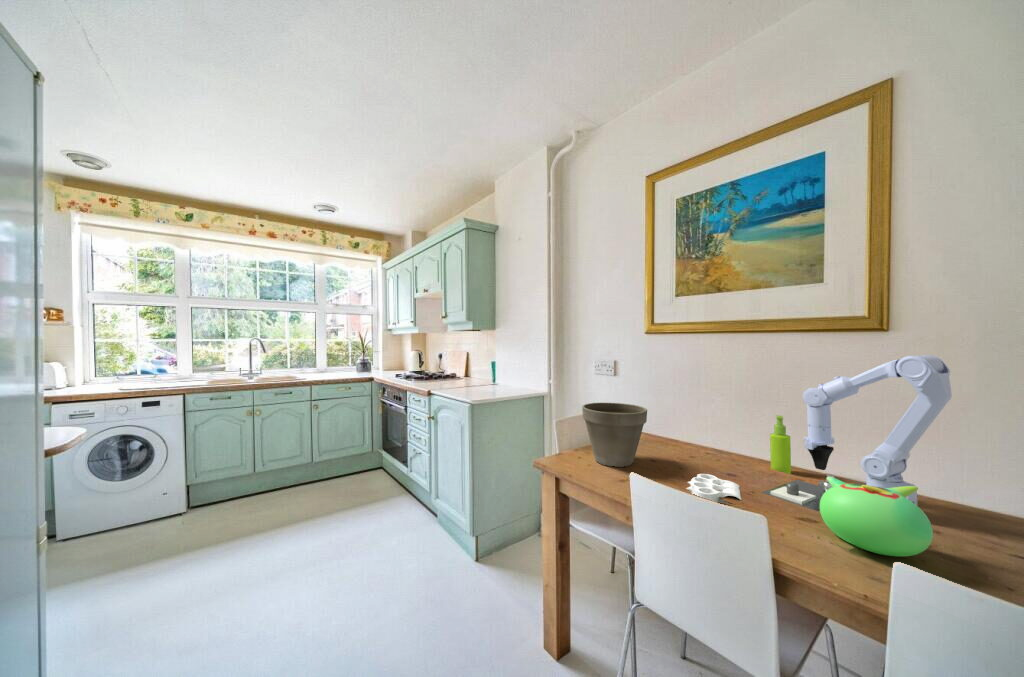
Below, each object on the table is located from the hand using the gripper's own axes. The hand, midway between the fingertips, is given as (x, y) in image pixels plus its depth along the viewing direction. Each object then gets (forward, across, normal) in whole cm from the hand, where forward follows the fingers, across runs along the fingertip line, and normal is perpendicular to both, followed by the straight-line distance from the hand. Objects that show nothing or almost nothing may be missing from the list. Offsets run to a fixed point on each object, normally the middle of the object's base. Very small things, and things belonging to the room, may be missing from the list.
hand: (820, 469), depth 114 cm
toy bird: (+7, +29, +21) cm, 36 cm away
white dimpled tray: (+7, +32, -15) cm, 36 cm away
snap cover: (+5, +17, 0) cm, 18 cm away
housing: (+7, +12, +1) cm, 13 cm away
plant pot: (+6, +36, -53) cm, 65 cm away
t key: (+5, +1, +3) cm, 6 cm away
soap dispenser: (+7, -8, -15) cm, 18 cm away
